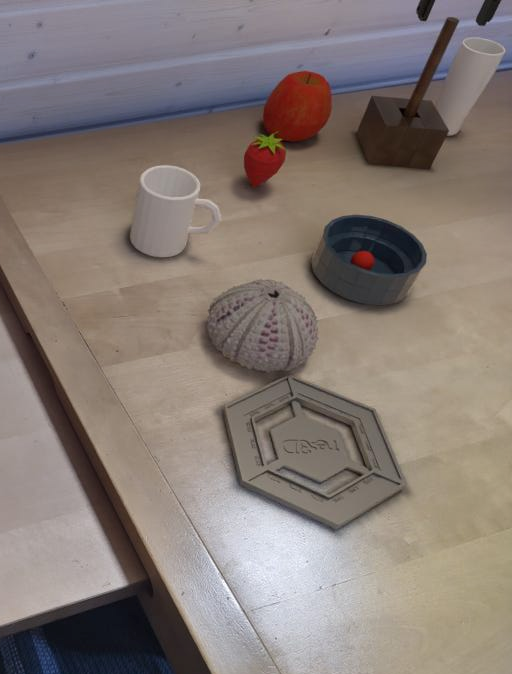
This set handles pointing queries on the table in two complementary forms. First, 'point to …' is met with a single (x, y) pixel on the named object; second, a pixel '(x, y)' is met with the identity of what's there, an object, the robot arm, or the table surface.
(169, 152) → the table surface
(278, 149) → the strawberry
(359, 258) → the ball
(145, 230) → the mug
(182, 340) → the table surface
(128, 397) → the table surface
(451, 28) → the stirring stick
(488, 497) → the table surface
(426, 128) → the holder
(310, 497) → the grey hexagonal plate
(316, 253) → the bowl
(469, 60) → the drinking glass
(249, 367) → the sea urchin shell
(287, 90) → the apple
